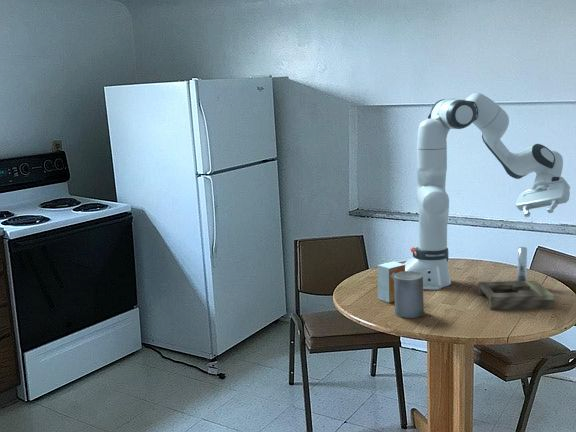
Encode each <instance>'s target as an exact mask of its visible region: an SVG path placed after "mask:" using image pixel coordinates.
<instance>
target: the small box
mask: <svg viewBox="0 0 576 432" xmlns="http://www.w3.org/2000/svg"><path fill="white" fill-rule="evenodd" d="M404 271H405V264H404V263H401V262H398V261H394V260H393V261H389V262H385V263H382V264H381V263H380V264H378V265H377V300H381V301H383V302H385V303H393V302H394V303H395V291H394V275H395V274H396V273H399V272H404Z"/></svg>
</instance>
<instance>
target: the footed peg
mask: <svg viewBox="0 0 576 432" xmlns="http://www.w3.org/2000/svg"><path fill="white" fill-rule="evenodd" d="M517 252H518V254H517V257H518V258H517V280H516V281H527V259H528V247H525V246H519V247H518V251H517Z"/></svg>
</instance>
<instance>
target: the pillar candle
mask: <svg viewBox="0 0 576 432" xmlns="http://www.w3.org/2000/svg"><path fill="white" fill-rule="evenodd" d="M394 291H395V301H394V315H396V316H397V317H399V316H400V317H399V318H402V317H404V318H406V319H416V318H420V317H422V316H423V315H424V313H425V310H424V309H425V307H424V289H423V275H422V274H421V273H419V272H413V271H404V272H399V273H396V274H395V275H394Z"/></svg>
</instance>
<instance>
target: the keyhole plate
mask: <svg viewBox="0 0 576 432" xmlns="http://www.w3.org/2000/svg"><path fill="white" fill-rule="evenodd" d="M478 296H480V297H481V296H482V297H487V298H488V301H489V302H488V303H489V305H488V308H489V309H490V311H496V310H498V311H499V310H526V309H527V310H528V309H529V310H530V309H554V306H555V305H554V303H555V295H554V294H553V293H552V292H551V291H549V289H548V288H546V287H545V286H544V285H542V283H540V282H539V281H538V280H526V281H517V280H512V281H511V280H509V281H508V280H507V281H480V282H478Z"/></svg>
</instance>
